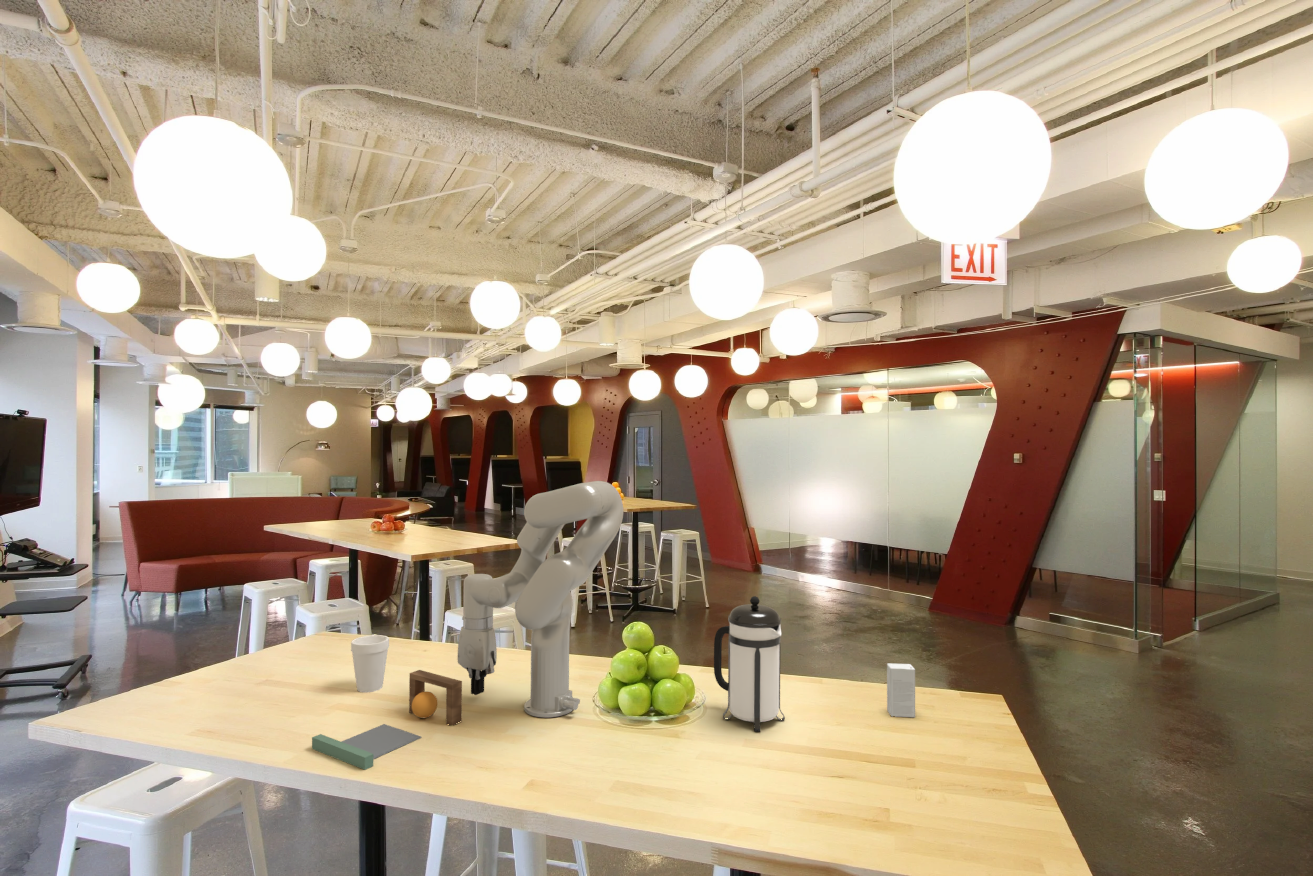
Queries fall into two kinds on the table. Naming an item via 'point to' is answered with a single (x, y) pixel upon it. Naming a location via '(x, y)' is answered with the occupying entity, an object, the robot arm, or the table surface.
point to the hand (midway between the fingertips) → (477, 692)
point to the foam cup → (369, 661)
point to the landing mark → (381, 740)
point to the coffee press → (751, 663)
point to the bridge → (451, 685)
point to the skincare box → (901, 690)
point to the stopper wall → (342, 751)
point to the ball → (424, 704)
